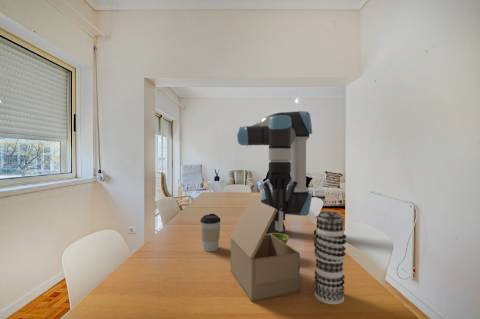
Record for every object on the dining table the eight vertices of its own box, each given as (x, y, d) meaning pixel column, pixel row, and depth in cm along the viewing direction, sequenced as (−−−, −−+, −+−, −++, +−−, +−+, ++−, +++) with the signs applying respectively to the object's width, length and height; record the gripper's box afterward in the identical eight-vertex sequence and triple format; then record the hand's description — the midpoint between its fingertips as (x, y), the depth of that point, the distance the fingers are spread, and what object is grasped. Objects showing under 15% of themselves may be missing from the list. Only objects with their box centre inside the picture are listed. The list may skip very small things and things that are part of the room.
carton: (269, 264, 97) (270, 233, 97) (300, 292, 77) (300, 253, 77) (230, 270, 92) (230, 237, 92) (252, 302, 72) (252, 260, 72)
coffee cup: (217, 253, 108) (217, 218, 108) (197, 251, 110) (197, 217, 109) (222, 245, 117) (222, 213, 117) (204, 244, 119) (204, 212, 118)
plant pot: (261, 254, 107) (261, 234, 107) (280, 251, 110) (280, 231, 110) (273, 263, 98) (273, 241, 98) (293, 259, 102) (293, 238, 102)
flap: (252, 198, 93) (250, 197, 93) (277, 209, 75) (275, 208, 75) (232, 238, 91) (230, 237, 91) (252, 259, 73) (250, 258, 72)
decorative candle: (328, 308, 69) (329, 218, 69) (306, 291, 78) (307, 211, 77) (352, 301, 73) (353, 215, 73) (329, 285, 82) (330, 208, 81)
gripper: (290, 161, 92) (290, 225, 92) (257, 161, 87) (257, 228, 88) (302, 161, 85) (301, 231, 85) (267, 161, 80) (266, 235, 81)
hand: (279, 230), depth 86 cm, fingers closed
